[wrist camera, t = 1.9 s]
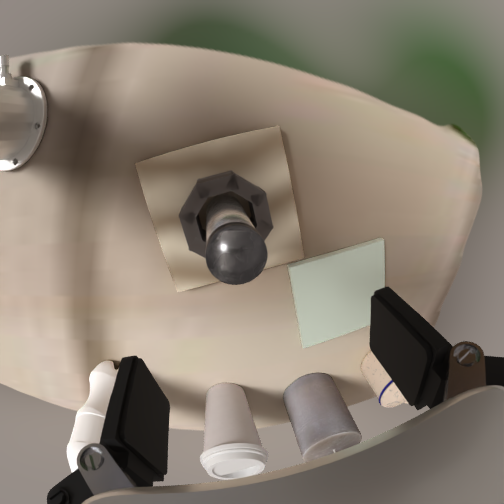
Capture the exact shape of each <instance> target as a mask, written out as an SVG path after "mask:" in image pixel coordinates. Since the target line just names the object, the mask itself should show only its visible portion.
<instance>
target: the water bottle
mask: <svg viewBox="0 0 504 504" xmlns="http://www.w3.org/2000/svg"><path fill="white" fill-rule="evenodd" d="M118 369H119V368H118ZM118 369H117V370H116V369H114V364H113V361H103V362H101V363H100V364H99V365H97V367H96V368H95V369H94V370H93V371H92V372H91V374H90V377H89V381H90V394H89V397H88V400H87V401H86V403H85V404H84V405H83V406H82V407H81V408H80V409H79V410H78V412H77V415H76V421H75V425H74V428H73V431H72V435H71V439H70V442H69V444H68V446H67V457H68V461H69V465H70V468H71V471H72V473H73V472H74V471H75V470H77V469H78V466H77V456H78V453H79V452H80V450H81V449H82V448H83V447H85V446H86V445H88V444H92V443H98V444H99V443H100V438H101V434H102V429H103V425H104V420H105V416H106V412H107V408H108V404H109V400H110V396H111V394H112V391H113V387H114V383H115V380H116V376H117V373H118Z"/></svg>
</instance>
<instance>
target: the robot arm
mask: <svg viewBox="0 0 504 504" xmlns="http://www.w3.org/2000/svg"><path fill="white" fill-rule="evenodd" d="M46 121H47V100H46V96H45V93H44V91H43V89H42V87H41V85H40V84H39V83H38V82H37V81H35V80H34V79H32V78H29V77H23V76H19V77H14V78H12V77H11V74H10V73H9V56H8V55H3V56H0V171H10V170H14V169H17V168H18V167H20V166H22V165H23V164H24V163H26V162H27V161H28V160H29V159H30V157H31V156H32V155H33V154H34V152H35V151H36V149H37V147H38V145H39V143H40V141H41V139H42V136H43V133H44V130H45V126H46ZM370 349H371V351H372V353H373V354H374V355H375V357H376V358H377V360H378V361H379V362H380V364H381V365H382V367H383V368H384V369H385V371H386V372H387V373H388V375H389V376H390V378H391V379H392V381H393V382H394V383H395V385H396V386H397V388H398V389H399V390H400V392H401V393H402V395H403V396H404V398H405V399H406V400H407V402H408V403H409V404H410V405H411V406H413V405H414V406H415V407H416V409H417V410H419V409H421V408H423V407H425V406H426V405H427V406H428V407H429V408H430V410H428V411H426V412H424V413H423V414H420V415H419V416H417V417H415V418H413V419H411V420H409V421H407V422H405V423H403V424H401V425H399V426H397V427H395V428H393V429H391V430H389V431H387V432H385V433H382V434H380V435H378V436H376V437H374V438H372V439H369V440H367V441H364V442H362V443H359V444H357V445H354V446H352V447H349V448H347V449H344V450H341V451H339V452H336V453H333V454H330V455H327V456H324V457H321V458H318V459H315V460H312V461H309V462H305V463H302V464H299V465H295V466H291V467H288V468H284V469H280V470H276V471H272V472H268V473H263V474H258V475H253V476H248V477H242V478H237V479H230V480H224V481H217V482H209V483H199V484H188V485H175V486H154V487H152V486H153V481H164V475H166V474H167V460H168V431H169V412H170V405H169V401H168V399H167V398H166V396H165V395H164V393H163V392H162V390H161V389H160V387H159V386H158V384H157V382H156V381H155V379H154V378H153V376H152V374H151V373H150V371H149V370H148V368H147V366H146V365H145V363H144V361H143V360H142V359H141V358H139V359H138V357H137V356H130V357H124V358H122V360H121V363H120V366H119V369H118V373H117V376H116V380H115V383H114V387H113V391H112V394H111V396H110V400H109V404H108V408H107V412H106V416H105V420H104V425H103V429H102V434H101V438H100V443H99V444H98V443H92V444H88V445H86V446H85V447H83V448H82V449H81V450H80V452H79V453H78V456H77V466H78V469H77V470H75V471H74V472H73V473H71V474H70V475H69V476H67V477H66V478H65V479H63V480H62V481H61V482H59V483H58V484H57V485H55V486H54V487H53V488H52V489H51V490H50V491H49V493H48V496H47V504H504V357H491V356H484V352H483V350H482V349H481V347H480V346H478V345H477V344H475V343H473V342H468V341H463V342H459V343H457V344H456V345H454V346H452V345H451V344H450V343H449V342H447V340H446V339H445V338H444V337H443V336H442V335H441V334H440V333H439V332H437V330H435V329H434V328H433V327H432V326H431V325H430V324H429V323H428V322H427V321H426V320H425V319H424V318H423V317H422V316H421V315H420V314H419V313H417V312H416V311H415V310H414V309H413V308H412V307H410V306H409V305H408V304H407V303H406V302H405V301H404V300H403V299H402V298H401V297H399V296H398V295H397V294H396V293H395V292H394V291H393V290H392V289H391V288H389V287H384V288H381V289H379V290H376V291H375V292H374V295H373V296H371V320H370Z"/></svg>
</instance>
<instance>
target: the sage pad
mask: <svg viewBox="0 0 504 504" xmlns="http://www.w3.org/2000/svg"><path fill="white" fill-rule="evenodd" d="M287 266H288V272H289V277H290V282H291V288H292V293H293V299H294V305H295V310H296V316H297V322H298V328H299V334H300V340H301V345H302V347H303V349H304V348H307V347H310V346H313V345H316V344H319V343H322V342H325V341H328V340H331V339H334V338H336V337H339V336H342V335H345V334H348V333H350V332H353V331H356V330H358V329H361V328H363V327H366V326H369V325H370V320H371V296H373V295H374V292H375V291H376V290H379V289H381V288H384V287H385V251H384V239H382V238H377V239H374V240H371V241H367V242H364V243H361V244H357V245H354V246H350V247H347V248H344V249H340V250H337V251H333V252H330V253H326V254H323V255H320V256H316V257H313V258H309V259H306V260H302V261H299V262H295V263H291V264H288V265H287Z"/></svg>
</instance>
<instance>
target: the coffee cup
mask: <svg viewBox="0 0 504 504" xmlns="http://www.w3.org/2000/svg"><path fill="white" fill-rule="evenodd" d="M267 459H268V451H267V450H266V449H265V448H264V447H262V444H261V441H260V438H259V435H258V432H257V429H256V426H255V423H254V420H253V417H252V414H251V411H250V408H249V405H248V401H247V398H246V395H245V392H244V390H243V388H242V387H240V386H239V385H236V384H233V383H221V384H217V385H214V386H213V387H211V388H210V389H209V390H208V391H207V394H206V412H205V432H204V452H203V453H202V455H201V457H200V461H201V463H202V465H203V467H204V468H205V469H206V470H207V472H208V474H209V475H211V476H212V477H214V478H218V479H224V480H230V479H237V478H242V477H248V476H253V475H257V474H259V473H260V472H262V471H263V470H264V468H265V464H266V462H267Z"/></svg>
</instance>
